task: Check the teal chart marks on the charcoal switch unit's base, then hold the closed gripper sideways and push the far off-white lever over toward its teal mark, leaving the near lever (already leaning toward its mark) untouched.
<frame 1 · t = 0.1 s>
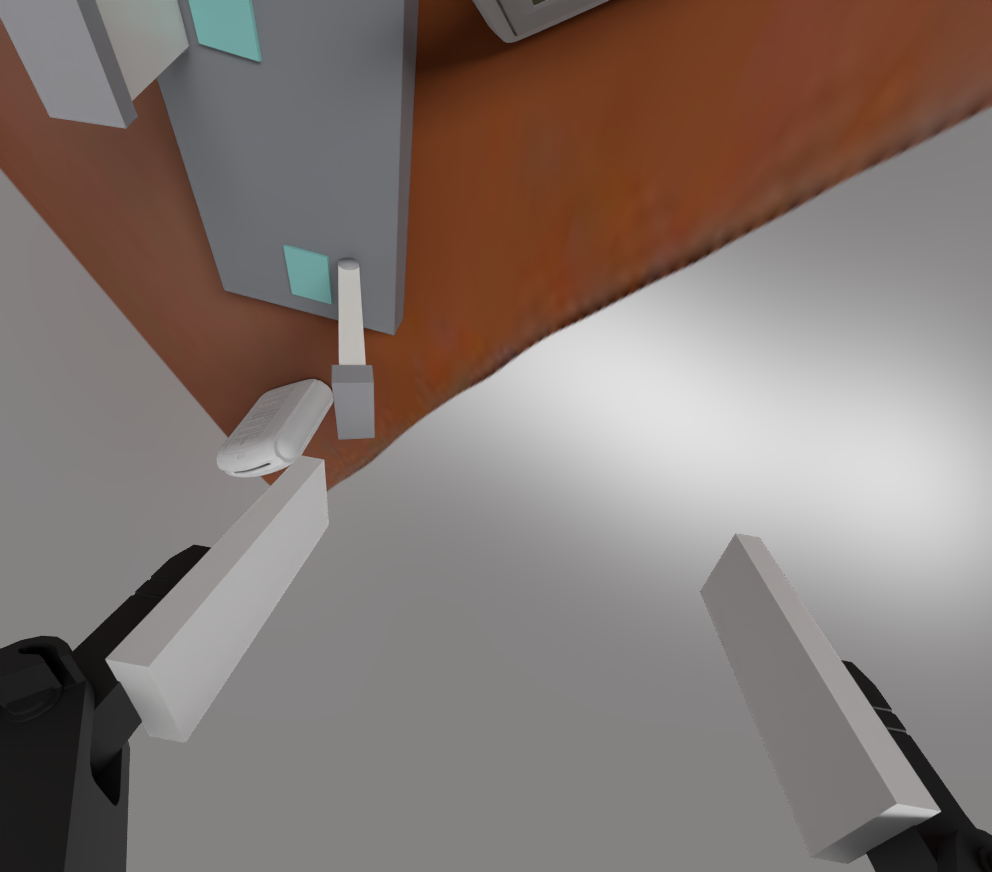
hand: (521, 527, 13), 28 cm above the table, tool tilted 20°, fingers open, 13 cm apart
photo printer: (300, 393, 52), on the table
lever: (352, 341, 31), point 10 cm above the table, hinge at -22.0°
switch unit: (307, 158, 31), on the table
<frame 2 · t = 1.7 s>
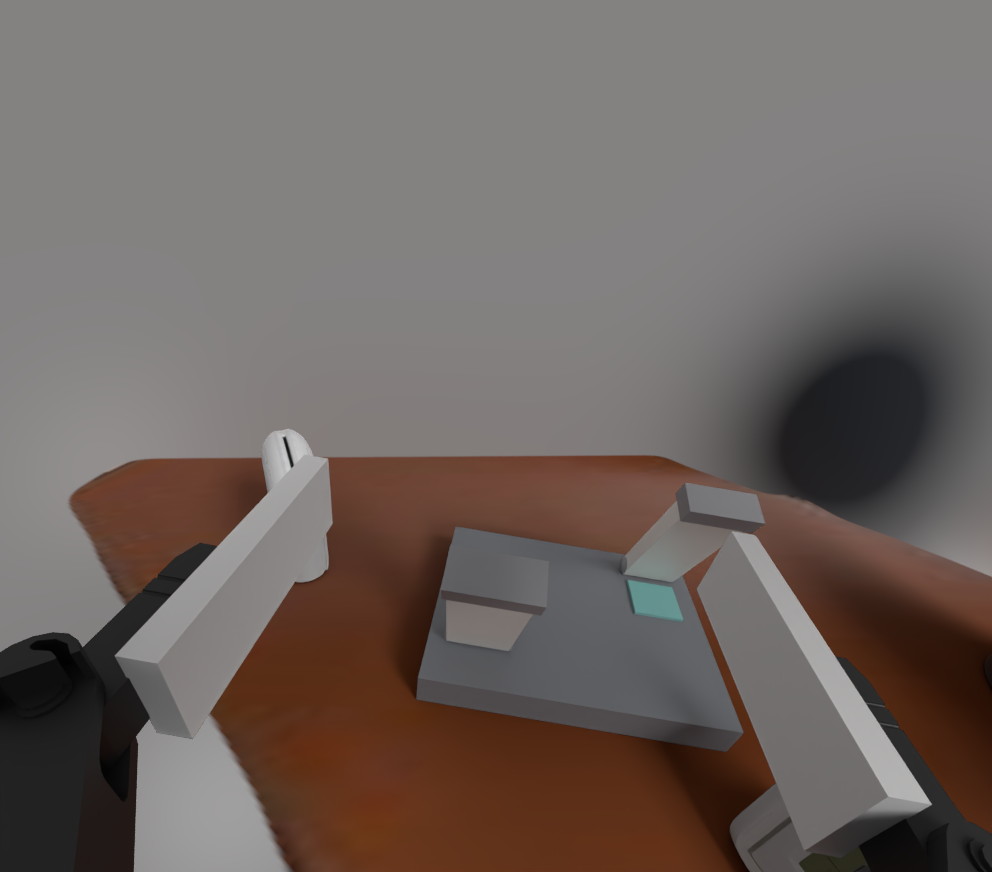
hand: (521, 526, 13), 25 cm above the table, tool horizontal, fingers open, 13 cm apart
photo printer: (301, 547, 42), on the table
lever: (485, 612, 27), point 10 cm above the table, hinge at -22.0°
switch unit: (564, 630, 38), on the table
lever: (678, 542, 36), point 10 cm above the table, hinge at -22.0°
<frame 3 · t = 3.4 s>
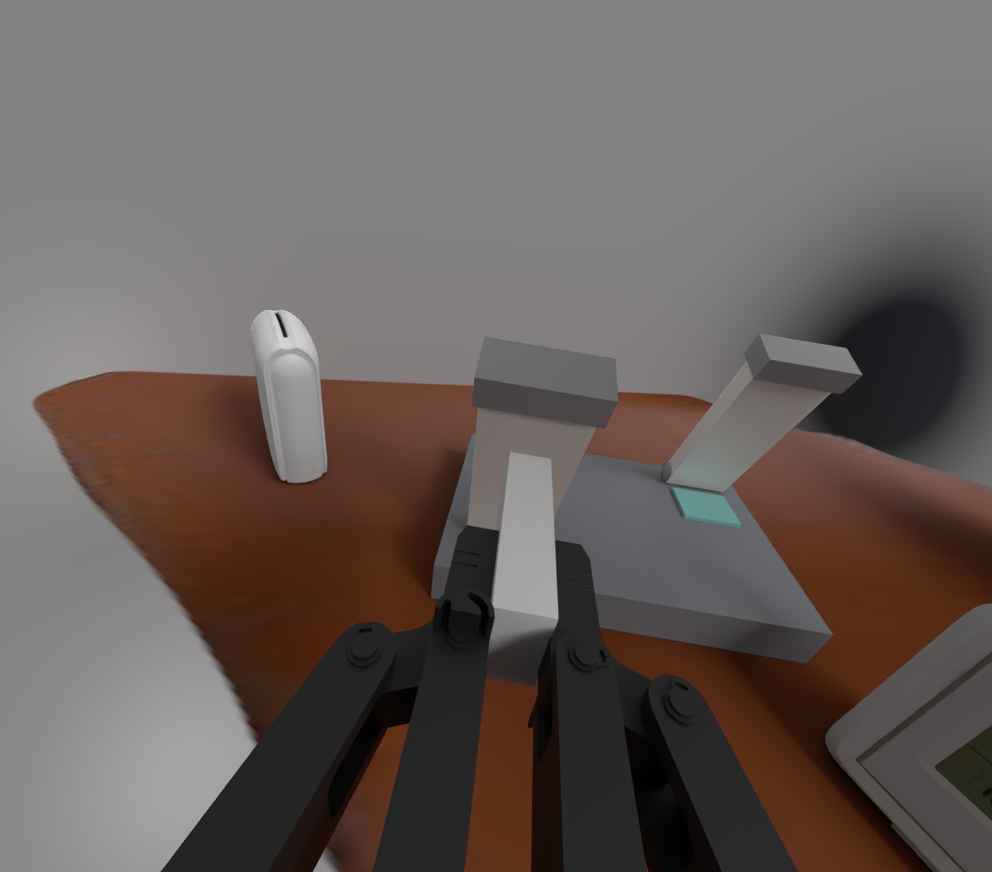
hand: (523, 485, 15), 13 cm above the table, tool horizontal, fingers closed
photo printer: (296, 453, 37), on the table
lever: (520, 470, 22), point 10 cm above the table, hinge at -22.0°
switch unit: (601, 539, 33), on the table
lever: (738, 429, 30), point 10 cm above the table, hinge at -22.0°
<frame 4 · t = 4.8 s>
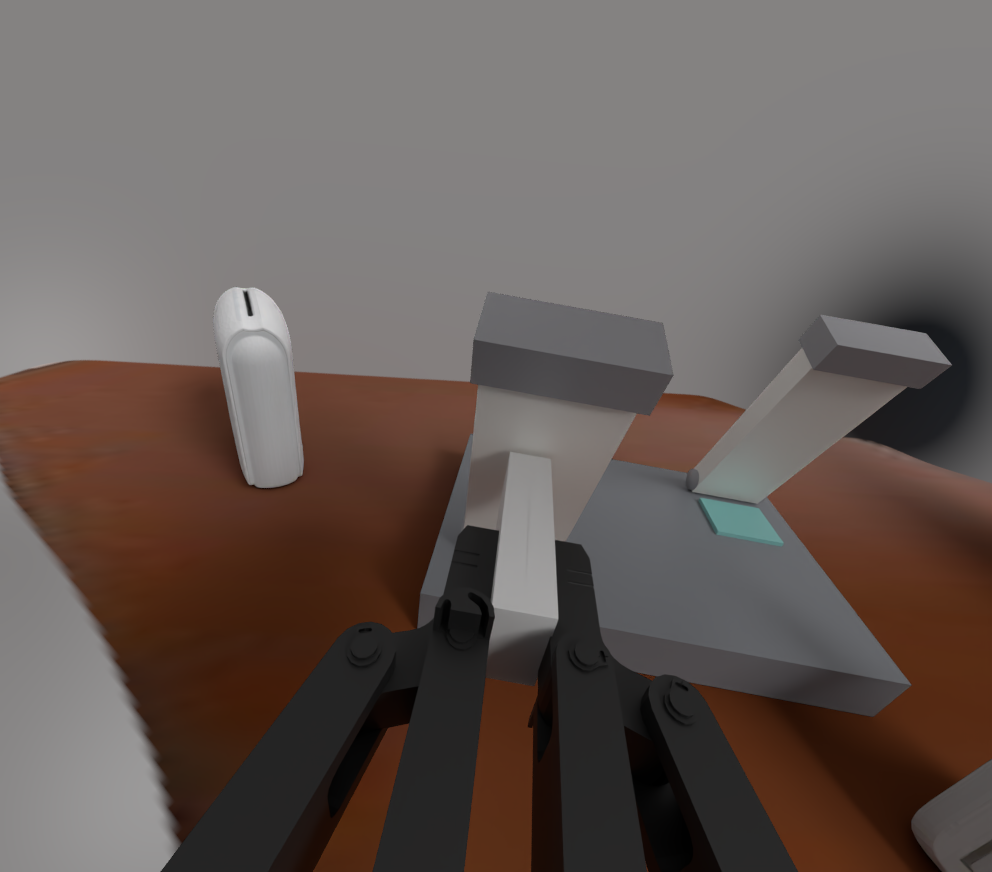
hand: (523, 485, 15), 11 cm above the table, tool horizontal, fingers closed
photo printer: (270, 453, 33), on the table
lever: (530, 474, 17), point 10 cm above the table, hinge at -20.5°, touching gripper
switch unit: (618, 558, 28), on the table
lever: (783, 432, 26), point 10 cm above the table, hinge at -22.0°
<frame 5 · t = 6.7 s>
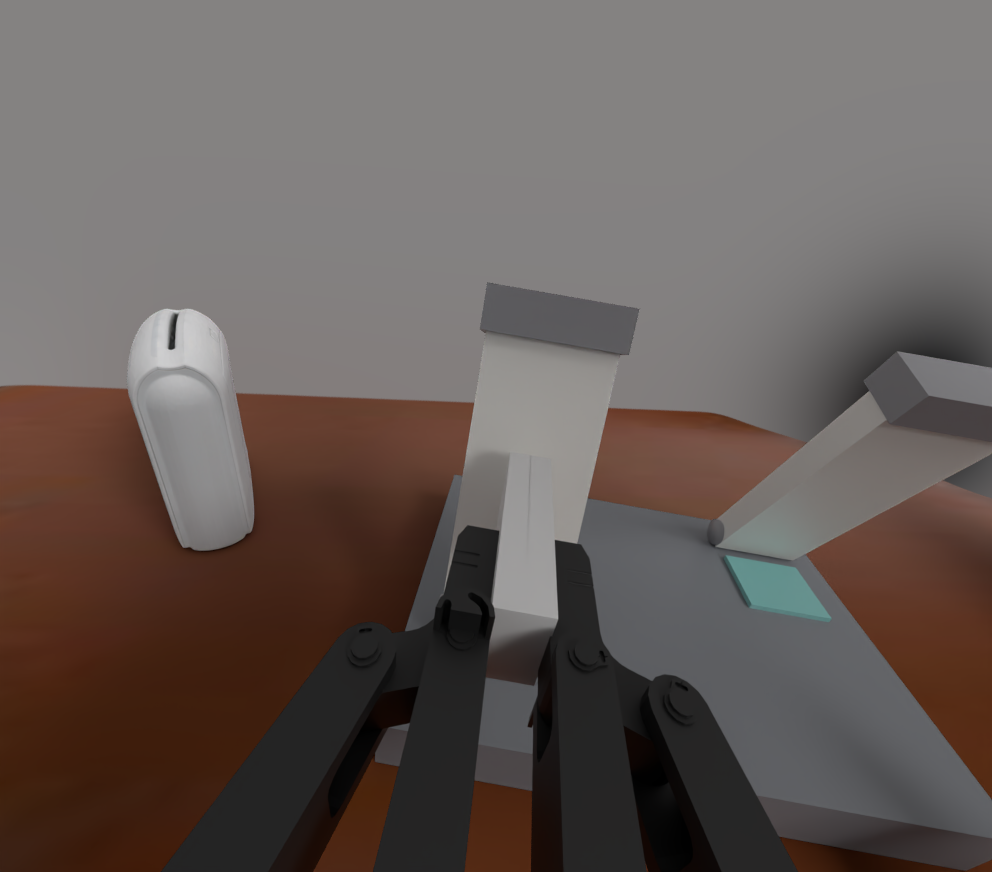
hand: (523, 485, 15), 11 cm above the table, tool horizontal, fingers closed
photo printer: (219, 501, 28), on the table
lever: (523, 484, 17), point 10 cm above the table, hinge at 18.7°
switch unit: (630, 634, 23), on the table
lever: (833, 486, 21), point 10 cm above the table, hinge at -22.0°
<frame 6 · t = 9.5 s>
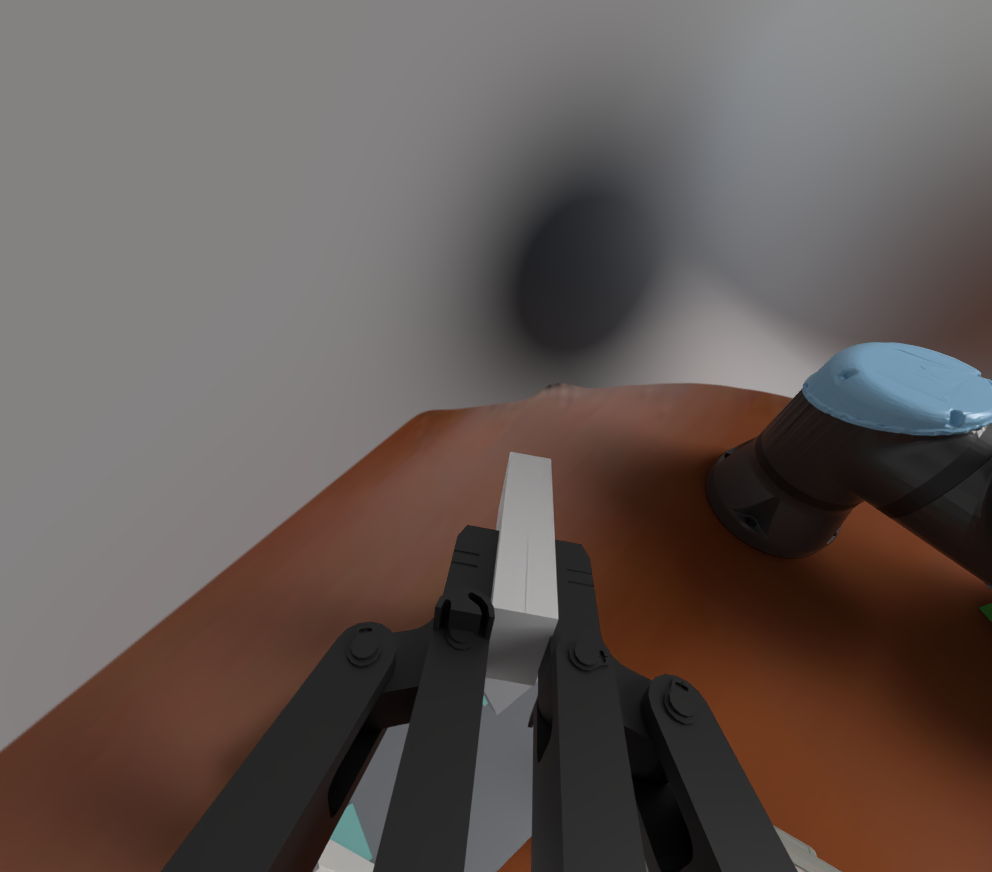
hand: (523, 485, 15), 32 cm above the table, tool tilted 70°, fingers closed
switch unit: (431, 763, 35), on the table
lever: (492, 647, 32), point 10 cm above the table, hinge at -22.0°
digital clock: (715, 868, 32), on the table
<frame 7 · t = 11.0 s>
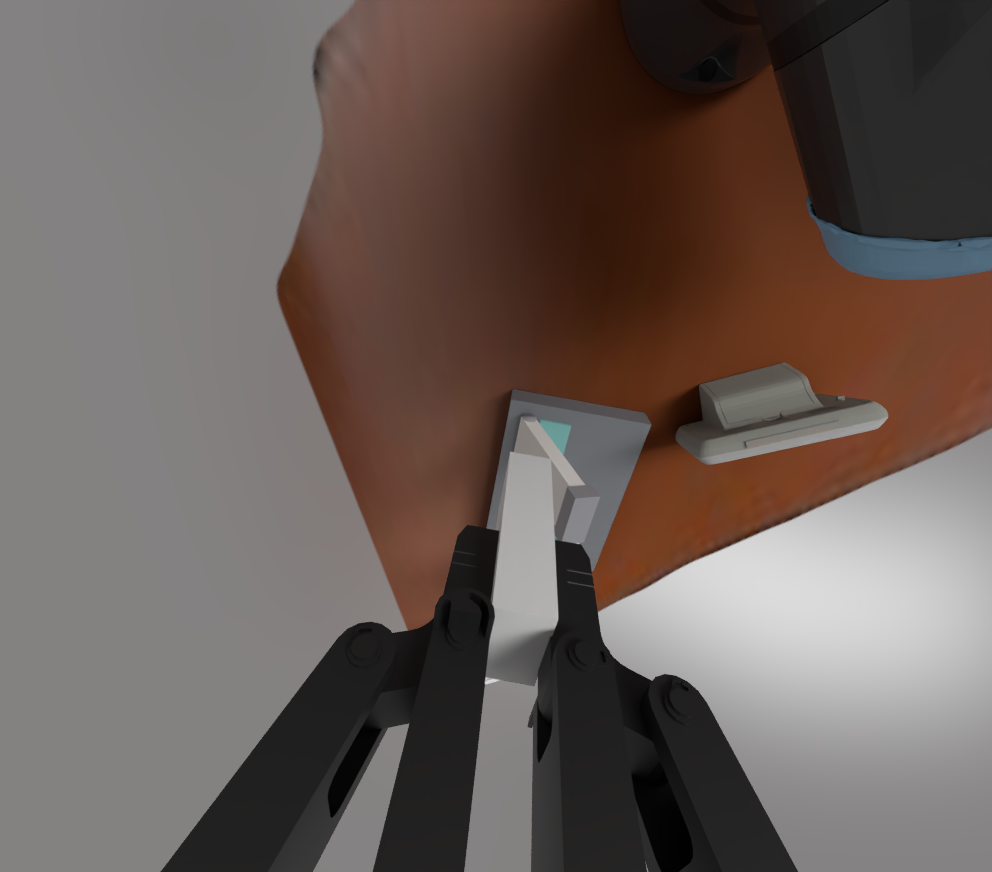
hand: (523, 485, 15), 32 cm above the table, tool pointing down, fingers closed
switch unit: (556, 481, 54), on the table
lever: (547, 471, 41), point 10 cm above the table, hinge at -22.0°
digital clock: (741, 404, 47), on the table
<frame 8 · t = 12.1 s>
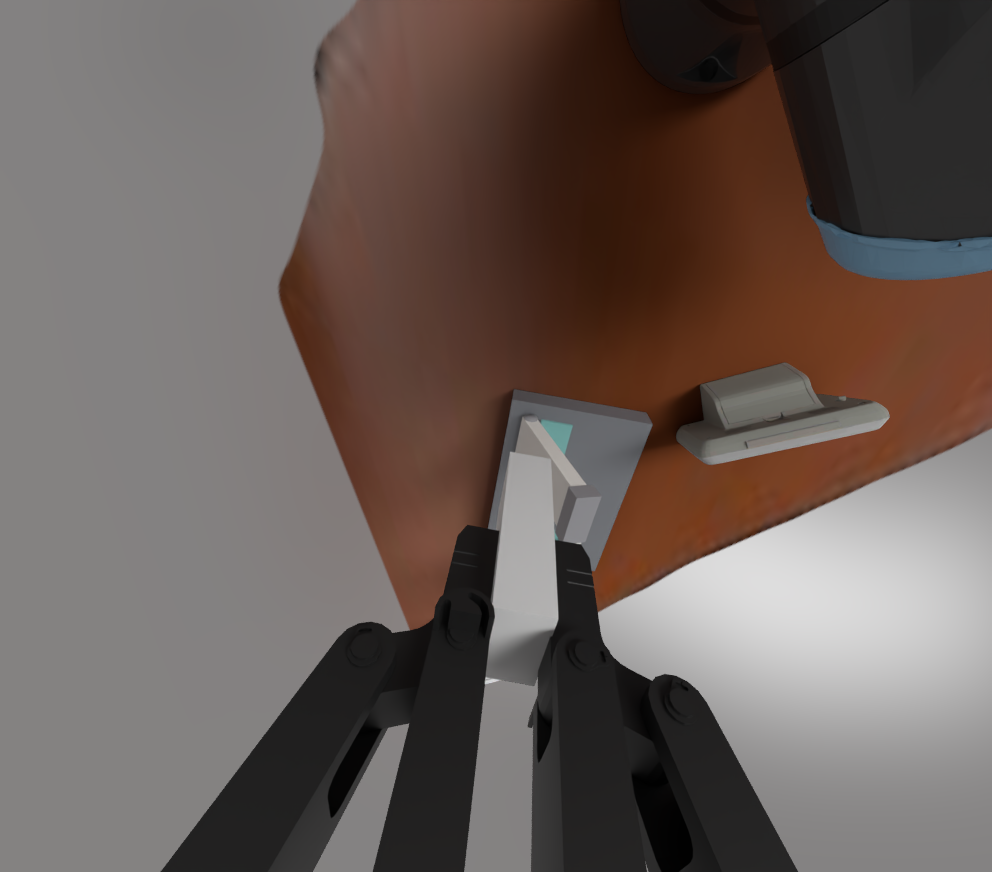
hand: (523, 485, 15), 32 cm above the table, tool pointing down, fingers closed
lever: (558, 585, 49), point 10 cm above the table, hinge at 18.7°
switch unit: (557, 481, 54), on the table
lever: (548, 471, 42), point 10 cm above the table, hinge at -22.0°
digital clock: (742, 404, 47), on the table
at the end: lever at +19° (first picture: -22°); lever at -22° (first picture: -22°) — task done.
